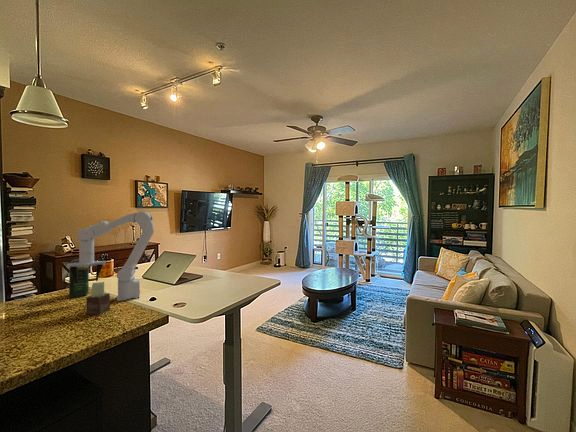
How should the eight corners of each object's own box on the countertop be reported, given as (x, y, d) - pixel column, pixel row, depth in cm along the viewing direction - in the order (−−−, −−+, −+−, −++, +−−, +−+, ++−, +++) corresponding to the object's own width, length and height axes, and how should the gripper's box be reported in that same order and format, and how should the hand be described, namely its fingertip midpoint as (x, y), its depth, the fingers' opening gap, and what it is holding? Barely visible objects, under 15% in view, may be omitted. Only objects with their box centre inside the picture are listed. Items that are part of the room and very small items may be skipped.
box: (110, 310, 119) (110, 293, 119) (99, 315, 113) (99, 297, 113) (97, 309, 119) (97, 292, 119) (85, 314, 113) (85, 297, 113)
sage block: (104, 293, 119) (104, 282, 119) (103, 295, 115) (103, 284, 115) (93, 294, 117) (93, 283, 117) (92, 297, 113) (91, 285, 113)
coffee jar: (88, 296, 137) (88, 259, 137) (68, 298, 133) (68, 261, 132) (89, 291, 145) (88, 256, 145) (70, 293, 140) (70, 258, 140)
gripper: (66, 255, 121) (66, 285, 122) (105, 253, 129) (105, 281, 130) (68, 253, 127) (68, 282, 128) (105, 251, 135) (105, 278, 136)
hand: (86, 281), depth 129 cm, fingers open, 7 cm apart
